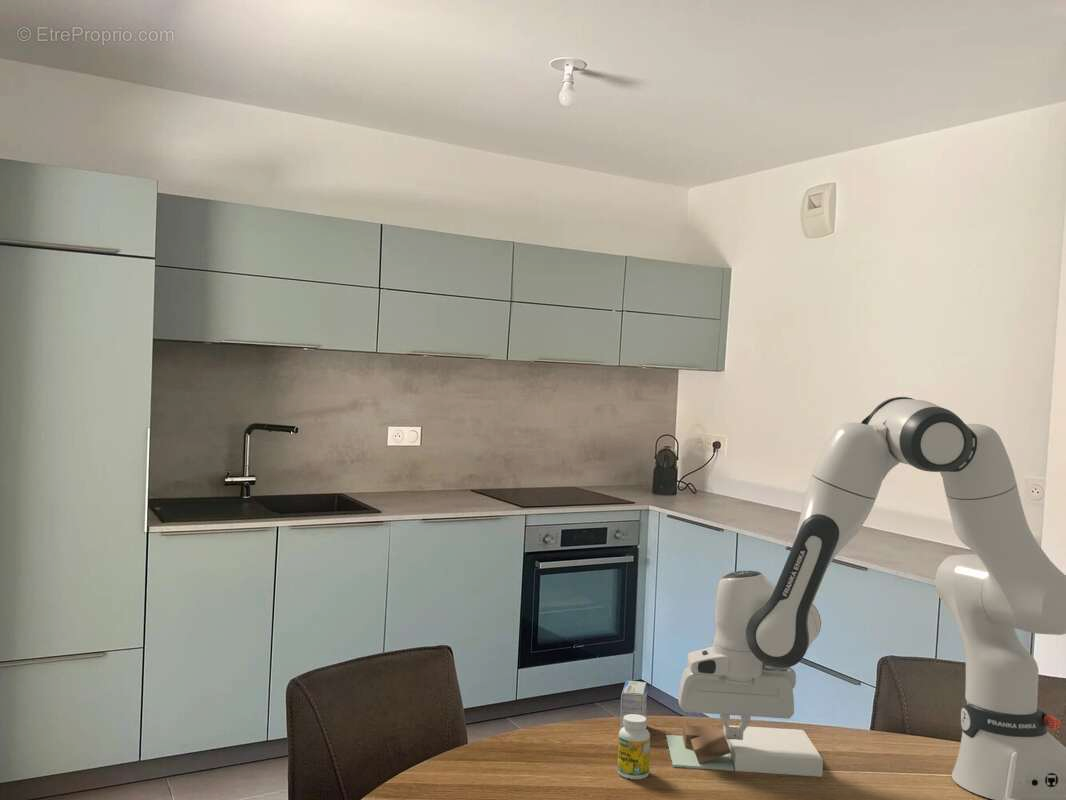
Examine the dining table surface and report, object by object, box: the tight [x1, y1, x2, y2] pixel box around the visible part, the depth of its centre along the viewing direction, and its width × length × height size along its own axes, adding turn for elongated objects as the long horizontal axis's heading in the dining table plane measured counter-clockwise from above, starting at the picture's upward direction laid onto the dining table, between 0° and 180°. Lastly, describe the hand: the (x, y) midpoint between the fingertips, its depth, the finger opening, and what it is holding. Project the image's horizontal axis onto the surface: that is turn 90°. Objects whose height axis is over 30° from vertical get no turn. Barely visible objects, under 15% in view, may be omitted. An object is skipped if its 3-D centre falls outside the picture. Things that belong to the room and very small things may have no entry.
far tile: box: [682, 724, 717, 749], centre depth 166 cm, size 6×5×2 cm
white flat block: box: [722, 724, 824, 778], centre depth 162 cm, size 15×14×3 cm
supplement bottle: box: [617, 714, 651, 780], centre depth 152 cm, size 5×5×10 cm
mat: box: [665, 734, 735, 772], centre depth 163 cm, size 11×14×1 cm
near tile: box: [691, 728, 731, 764], centre depth 159 cm, size 6×5×2 cm
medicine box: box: [619, 680, 648, 731], centre depth 172 cm, size 8×4×9 cm, turn 168°
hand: (734, 738), depth 159 cm, fingers closed
